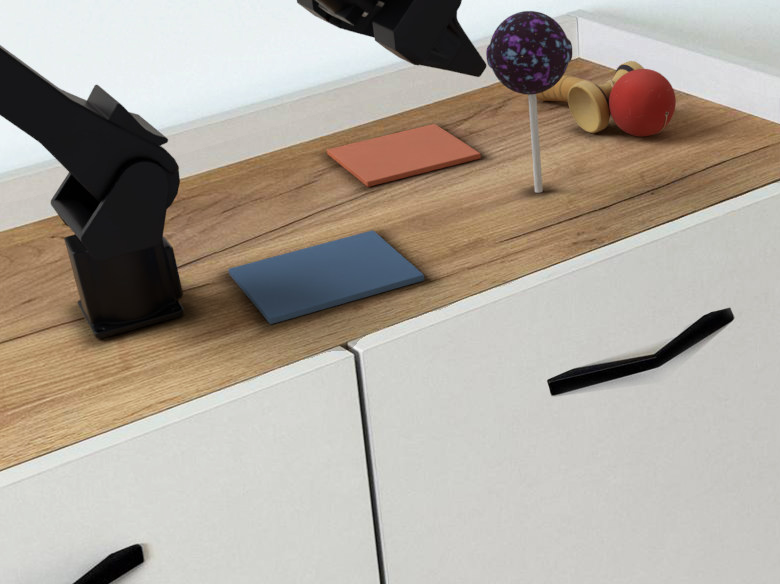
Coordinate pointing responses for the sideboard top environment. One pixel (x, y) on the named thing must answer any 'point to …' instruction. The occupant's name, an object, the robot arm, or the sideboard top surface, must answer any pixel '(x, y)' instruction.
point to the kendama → (618, 100)
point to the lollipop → (530, 64)
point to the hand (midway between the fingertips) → (453, 57)
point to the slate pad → (324, 276)
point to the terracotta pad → (402, 154)
